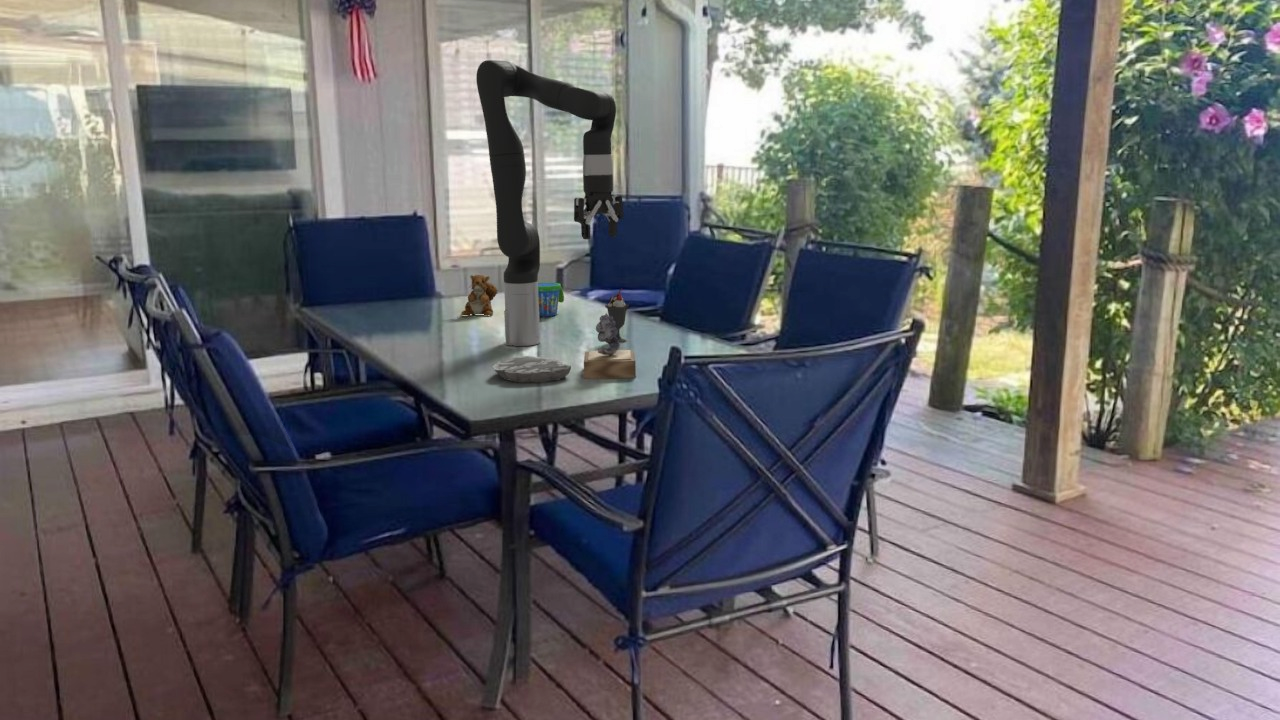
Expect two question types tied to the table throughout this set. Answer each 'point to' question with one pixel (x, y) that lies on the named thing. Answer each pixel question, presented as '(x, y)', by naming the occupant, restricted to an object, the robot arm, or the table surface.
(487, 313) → the stuffed squirrel
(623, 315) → the sundae
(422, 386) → the table surface
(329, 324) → the table surface
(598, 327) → the grey figurine
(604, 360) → the plinth
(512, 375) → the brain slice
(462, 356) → the table surface
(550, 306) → the snack cup
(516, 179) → the robot arm
